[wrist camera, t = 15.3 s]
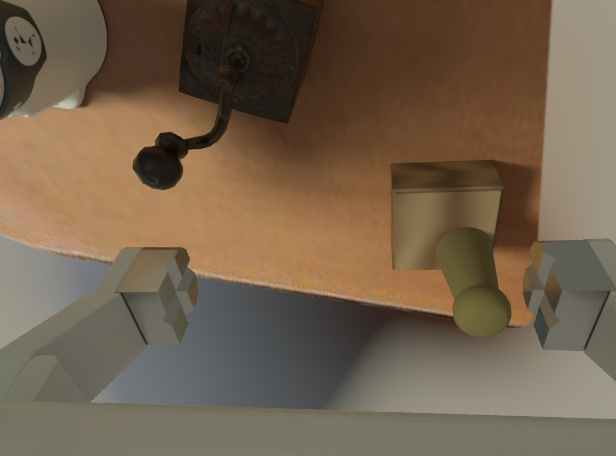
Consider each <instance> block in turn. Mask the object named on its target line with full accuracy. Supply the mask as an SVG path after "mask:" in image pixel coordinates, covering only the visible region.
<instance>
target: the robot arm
mask: <svg viewBox="0 0 616 456" xmlns="http://www.w3.org/2000/svg"><path fill="white" fill-rule="evenodd" d="M106 48H107V32H106V25H105V21H104V17H103V14H102V11H101V8H100V5H99V3H98V1H97V0H0V120H2V119H4V118H6V117H7V116H9V117H12V116H17V115H24V116H25V117H32V116H35V115H37V114H39V113H41V112H43V111H45V110H47V109H49V108H51V107H55V108H63V109H74V108H76V107H78V106H80V105H81V103H82V101H83V98H84V94H85V89H86V85H87V84H88V82H89V81H90V80H91V79H92V78H93V77H94V75H95V74H96V73H97V72H98V71H99V69H100V67H101V65H102V63H103V61H104V58H105V54H106ZM529 256H530V259H531V261H532V264H531V265H530V266H529V267H528V268H526V269H525V272H524V277H523V296H524V301H525V304H526V306H527V309H528V310H529V311H530V312H531V313H533V314H534V315H535V316H536V318H535V322H534V328H535V331H536V333H537V335H538V338H539V341H540V344H541V346H542V349H545V350H571V351H585V354H586V355H587V356H589V358H591V359H592V360H593V361H594V362H595V363H596V364H597V365H598V366H599V367H601V368H602V369H603V370H604V371H605V372H606V373H607V374H608V375H609V376H610V377H611V378H613V379H614V380H615V381H616V245H615V244H614V243H613V241H611V240H609V239H586V240H569V241H567V240H566V241H534V243H533V244H532V246H531V249H530V252H529ZM189 261H190V258H189V256H188V253H187V251H186V249H184V248H182V247H144V248H142V247H126V248H124V249H122V250H121V251H120V253H119V254H118V256H117V257H116V259H115V260H114V262H113V264H112V265H111V267H110V268H109V270H108V271H107V273H106V274H105V276H104V278H103V279H102V281H101V282H100V284H99V285H98V287H97V289H96V290H95V292H94V293H88V294H86V295H84V296H83V297H81V298H80V299H78V300H77V301H75V302H73V303H72V304H70V305H69V306H67V307H66V308H64V309H63V310H61V311H60V312H58V313H56V314H55V315H53V316H52V317H50V318H48V319H47V320H45V321H44V322H42V323H41V324H39V325H38V326H36V327H35V328H33V329H31V330H30V331H28V332H27V333H25V334H24V335H22V336H20V337H19V338H17V339H16V340H14V341H13V342H11V343H10V344H9V345H6V346H5V347H3V348H2V349H1V350H0V456H616V419H593V418H559V417H530V416H498V415H465V414H433V413H431V414H430V413H402V412H370V411H339V410H307V409H276V408H275V409H274V408H246V407H244V408H243V407H214V406H181V405H151V404H148V405H147V404H119V403H90V402H91V401H92V400H93V399H94V398H95V397H96V396H97V395H98V394H99V393H100V392H101V391H102V390H103V389H104V388H105V387H106V386H107V385H108V384H109V383H111V381H113V379H114V378H116V377H117V376H118V375H119V374H120V373H121V372H122V371H123V370H124V369H125V368H126V367H127V366H128V365H129V364H130V363H131V362H132V361H133V360H134V359H135V358H136V357H137V356H138V355H139V354H140V353H141V352H143V351H144V350H145V349H146V347H147V346H146V345H180V343H181V341H182V338H183V335H184V333H185V330H186V328H187V325H188V321H187V319H186V315H187V314H188V313H190V312H191V311H192V310H193V309H194V307H195V304H196V301H197V295H198V284H197V279H196V276H195V273H194V272H193V271H192V270H190V269H189V268H188V267H187V265H188V263H189Z"/></svg>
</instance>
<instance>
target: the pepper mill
mask: <svg viewBox="0 0 616 456" xmlns="http://www.w3.org/2000/svg"><path fill="white" fill-rule="evenodd" d="M322 4H323V0H187V8H186V17H185V25H184V34H183V46H182V55H181V64H180V81H179V92H182V93H185V94H188V95H191V96H193V97H196V98H200V99H204V100H207V101H210V102H213V103H216V104H219V108H218V114H217V118H216V121H215V125H214V127H213V129H212V130H211V132H209V133H207V134H206V135H203V136H198V137H193V138H189V139H185V140H183V139H182V138H181V137H180V136H178V135H176V134H174V133H172V132H165V133H160V134H159V136H158V137H157V139H156V140H155V146H152V147H144V148H143V149H142V150H141V151H140V152H139V153H138V155H137V156H136V158H135V159H134V160H133V170H134V171H135V173H136V174H137V176H138V177H139V179H140V180H141V182H142V183H143V184H145V185H147V186H149V187H151V188H153V189H160V190H166V189H169V188H172V187H174V186H175V185H176V184H177V183H178V181H179V180H180V179H181V177H182V174H183V167H182V164H181V162H180V159H183V158H184V157H185V156H186V155H187V154H188V150H191V149H202V148H206V147H209V146H211V145H213V144H214V143H216V142H217V141H218V140H219V139H220V138H221V136H222V135H223V134H224V132H225V131H226V129H227V126H228V122H229V119H230V115H231V110H232V109H234V110H238V111H241V112H245V113H248V114H252V115H255V116H259V117H263V118H267V119H271V120H275V121H279V122H282V123H286V124H288V123H289V121H290V118H291V115H292V112H293V109H294V106H295V103H296V99H297V96H298V93H299V90H300V87H301V84H302V82H303V79H304V77H305V73H306V69H307V65H308V62H309V58H310V55H311V51H312V47H313V43H314V39H315V35H316V31H317V27H318V22H319V18H320V13H321V9H322Z"/></svg>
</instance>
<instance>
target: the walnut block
mask: <svg viewBox="0 0 616 456" xmlns="http://www.w3.org/2000/svg"><path fill="white" fill-rule="evenodd" d="M503 189H504V185H503V183H502V181H501V178H500V176H499V174H498V172H497V170H496V167H495V165H494V163H493V161H492V160H479V161H455V162H430V163H405V164H391V248H392V267H393V269H395V270H437V269H441V267H440V265H439V263H438V260H437V258H436V254H435V249H436V245H437V243H438V241H439V240H440V238H441V237H443V236H444V235H445V234H446V233H448V232H450V231H453V230H455V229H459V228H475V229H478V230H481V231H483V232H484V233H485V234H486V235H488V237H489V239H490V240H491V244H492V250H493V249H494V243H495V237H496V231H497V225H498V219H499V213H500V207H501V201H502V195H503Z"/></svg>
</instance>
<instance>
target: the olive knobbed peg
mask: <svg viewBox="0 0 616 456" xmlns="http://www.w3.org/2000/svg"><path fill="white" fill-rule="evenodd" d="M435 254H436V258H437V260H438V263H439V265H440V267H441V269H442V272H443V274H444V276H445V278H446V281H447V283H448V285H449V288H450V290H451V292H452V294H453V297H454V299H455V300H454V303H453V309H452V310H453V315H454V320H455V321H456V323H457V325H458V326H459V327H460V329H461V330H463V331H464V332H466V333H467V334H469V335H472V336H475V337H487V336H492V335H495V334H498V333H499V332H501V331H503V330H504V329H505V328H506V327H507V326H508V324H509V321H510V319H511V305H510V303H509V301H508V299H507V297H506V296H505V295H504V293H503V292H501V291H500V290H499V288H498V281H497V275H496V269H495V263H494V256H493V250H492V244H491V240H490V239H489V237H488V235H486V234H485V233H484V232H483V231H481V230H478V229H475V228H459V229H455V230H453V231H450V232H448V233H446V234H445V235H444V236H443V237H441V238H440V240H439V241H438V243H437V245H436V249H435Z"/></svg>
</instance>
